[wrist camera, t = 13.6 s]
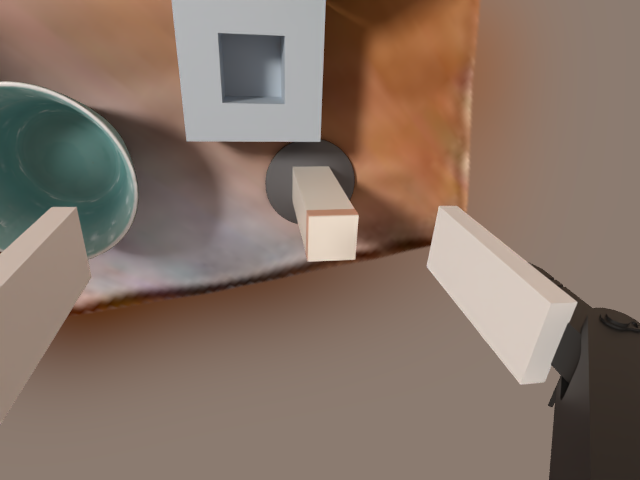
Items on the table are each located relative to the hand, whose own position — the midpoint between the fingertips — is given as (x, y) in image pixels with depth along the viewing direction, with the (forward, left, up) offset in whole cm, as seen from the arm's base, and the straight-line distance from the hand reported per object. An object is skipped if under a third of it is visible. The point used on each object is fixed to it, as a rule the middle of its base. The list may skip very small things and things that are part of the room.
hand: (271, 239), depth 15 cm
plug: (+6, -8, -29) cm, 31 cm away
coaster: (+6, -8, -30) cm, 31 cm away
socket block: (0, +4, -30) cm, 30 cm away
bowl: (-18, -5, -30) cm, 36 cm away
